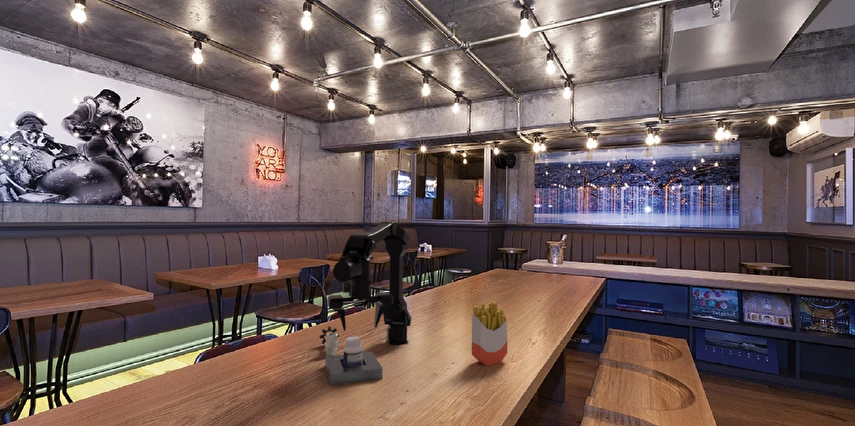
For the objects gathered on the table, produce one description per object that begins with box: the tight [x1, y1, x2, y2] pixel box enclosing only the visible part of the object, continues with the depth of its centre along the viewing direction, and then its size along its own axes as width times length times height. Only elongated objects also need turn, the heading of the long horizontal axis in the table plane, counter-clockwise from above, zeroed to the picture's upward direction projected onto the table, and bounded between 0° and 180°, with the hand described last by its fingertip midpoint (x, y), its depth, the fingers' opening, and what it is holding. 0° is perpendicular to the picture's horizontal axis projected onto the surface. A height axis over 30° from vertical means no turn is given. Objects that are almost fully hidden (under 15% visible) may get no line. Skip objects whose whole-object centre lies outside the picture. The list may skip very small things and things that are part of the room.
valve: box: [318, 325, 340, 356], centre depth 129 cm, size 7×7×12 cm
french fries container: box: [471, 301, 508, 366], centre depth 121 cm, size 5×11×18 cm, turn 119°
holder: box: [324, 351, 383, 387], centre depth 111 cm, size 14×14×3 cm
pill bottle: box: [343, 336, 364, 368], centre depth 111 cm, size 5×5×10 cm
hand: (360, 329), depth 114 cm, fingers open, 9 cm apart
